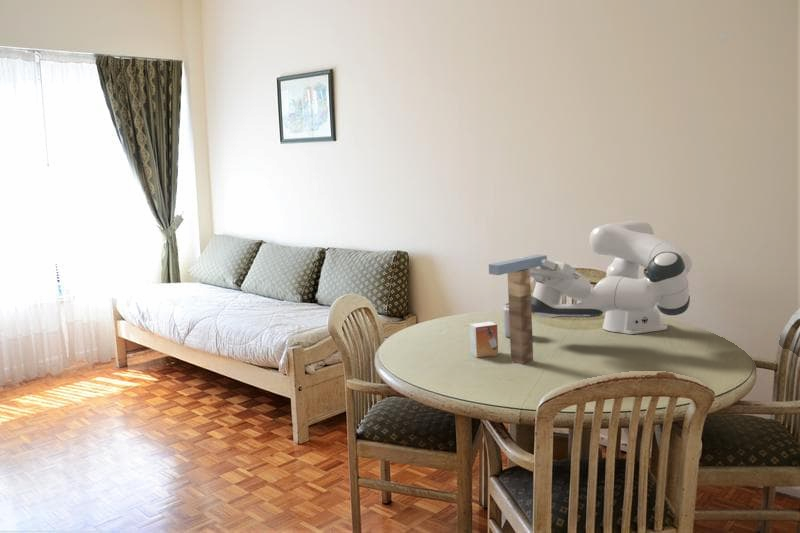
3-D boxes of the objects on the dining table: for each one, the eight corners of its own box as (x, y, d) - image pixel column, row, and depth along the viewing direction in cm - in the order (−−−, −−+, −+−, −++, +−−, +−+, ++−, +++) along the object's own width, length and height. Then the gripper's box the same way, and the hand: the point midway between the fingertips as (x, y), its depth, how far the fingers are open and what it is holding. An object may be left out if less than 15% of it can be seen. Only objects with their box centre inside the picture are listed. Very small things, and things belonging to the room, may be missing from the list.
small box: (476, 358, 241) (475, 327, 239) (470, 353, 246) (468, 323, 244) (498, 354, 243) (497, 324, 241) (492, 350, 248) (491, 320, 246)
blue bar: (537, 263, 237) (537, 254, 237) (546, 264, 234) (546, 255, 234) (489, 273, 224) (488, 264, 224) (498, 275, 221) (497, 265, 221)
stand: (521, 357, 238) (518, 267, 233) (533, 360, 234) (530, 269, 229) (511, 361, 235) (507, 270, 230) (522, 364, 231) (518, 271, 226)
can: (524, 332, 268) (522, 301, 266) (525, 338, 260) (524, 305, 258) (503, 333, 268) (502, 302, 266) (504, 339, 261) (503, 306, 259)
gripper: (579, 287, 232) (554, 272, 224) (531, 280, 248) (506, 266, 240) (585, 269, 233) (560, 253, 225) (537, 263, 249) (512, 248, 241)
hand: (532, 260), depth 233 cm, fingers open, 8 cm apart
